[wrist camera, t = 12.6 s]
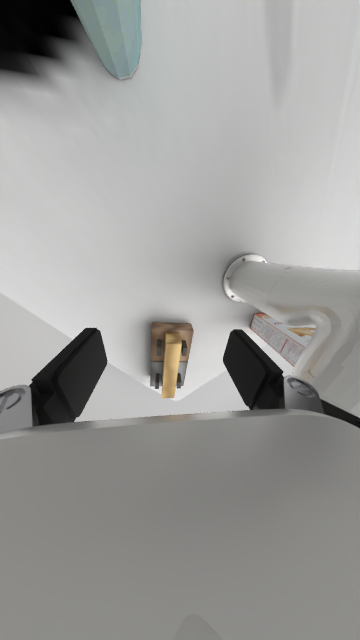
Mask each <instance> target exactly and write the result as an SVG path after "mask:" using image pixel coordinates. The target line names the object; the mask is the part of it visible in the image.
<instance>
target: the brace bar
mask: <svg viewBox="0 0 360 640" xmlns="http://www.w3.org/2000/svg"><path fill="white" fill-rule="evenodd" d="M181 346H182V342H181V337H180V333H166V338H165V352H164V365H163V379H162V398H174V395H175V388H176V381H177V374H178V367H179V360H180V353H181Z"/></svg>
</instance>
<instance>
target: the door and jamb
mask: <svg viewBox="0 0 360 640" xmlns="http://www.w3.org/2000/svg"><path fill="white" fill-rule="evenodd" d="M166 333H180V337H181V342H182V346H181V353H180V360H179V367H178V374H177V381H176V386H177V388H181V386H183V385H184V379H185V374H186V369H187V363H188V358H189V352H190V347H191V342H192V336H193V328H192V325H191V324H179V323H159V322H152V328H151V377H150V386H155V389H159V386H162V379H163V365H164V352H165V338H166Z"/></svg>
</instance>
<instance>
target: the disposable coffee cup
mask: <svg viewBox="0 0 360 640" xmlns="http://www.w3.org/2000/svg"><path fill="white" fill-rule="evenodd" d="M71 2H72V4H73V6H74V8H75V10H76V12H77V14H78V16H79V18H80V21H81V23H82V25H83V27H84V29H85V31H86V33H87V35H88V37H89V39H90V41H91V43H92V45H93V47H94V49H95V51H96V53H97V55H98V56H99V58H100V60H101V61H102V63H103V65H104V66H105V68H106V69H107V70H108V72H109V73H110V74H112V75H113V76H115V77H116V78H118V79H119V80H123V79H128V78H131V77H132V75H133V74H134V72H135V71H136V69H137V68H138V63H139V57H140V49H141V7H140V0H71Z"/></svg>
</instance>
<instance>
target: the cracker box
mask: <svg viewBox="0 0 360 640" xmlns="http://www.w3.org/2000/svg"><path fill="white" fill-rule="evenodd" d="M250 329H252V330H253V331H254V332H255V333H256V334H257V335H258V336H259V337H261V338H262V339H263V340H264V341H265V342H266V343H267V344H268V345H270V346H271V347H272V348H273V349H274V350H275V351H276V352H277V353H279V354H280V355H281V356H282V357H283V358H284V359H285V360H286V361H288V362H289V363H290V364H291V365H292V366H293V367H295V365H296V363H297V361H298V360H299V358H300V356H301V354H302V353H303V351H304V349H305V348H306V346H307V344H308V343H309V341H310V339H311V336H312V335H313V333H314V331H315V329H316V324H315V325H308V326H290V325H286V324H283V323H280V322H279V321H277V320H275V319H273V318H272V317H270V316H268V315H267V314H255V315H254V318H253V321H252V324H251V327H250Z"/></svg>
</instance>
